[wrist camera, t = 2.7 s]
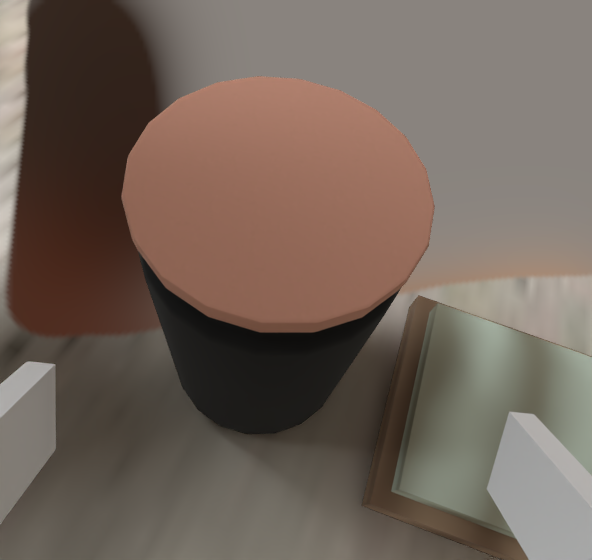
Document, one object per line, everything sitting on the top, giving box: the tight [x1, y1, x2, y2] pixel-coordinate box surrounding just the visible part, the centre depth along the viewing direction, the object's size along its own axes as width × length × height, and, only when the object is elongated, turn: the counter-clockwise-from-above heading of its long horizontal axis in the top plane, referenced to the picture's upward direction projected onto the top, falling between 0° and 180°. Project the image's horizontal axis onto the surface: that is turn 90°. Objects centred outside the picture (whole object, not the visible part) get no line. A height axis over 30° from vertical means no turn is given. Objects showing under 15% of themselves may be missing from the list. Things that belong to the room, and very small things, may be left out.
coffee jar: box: [122, 76, 435, 434], centre depth 24 cm, size 11×11×18 cm
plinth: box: [362, 296, 592, 560], centre depth 30 cm, size 14×14×4 cm
